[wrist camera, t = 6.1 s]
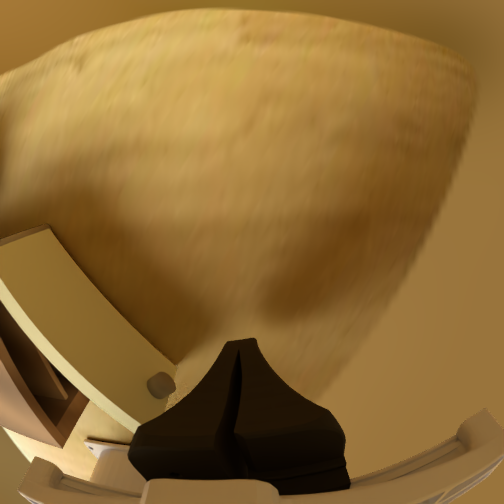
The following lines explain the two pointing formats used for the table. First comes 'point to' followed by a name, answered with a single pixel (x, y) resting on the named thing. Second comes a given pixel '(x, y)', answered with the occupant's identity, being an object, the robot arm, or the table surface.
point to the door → (82, 329)
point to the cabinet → (34, 389)
